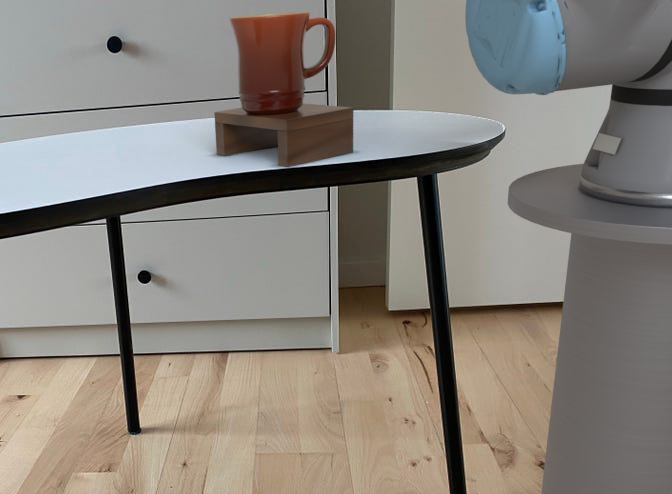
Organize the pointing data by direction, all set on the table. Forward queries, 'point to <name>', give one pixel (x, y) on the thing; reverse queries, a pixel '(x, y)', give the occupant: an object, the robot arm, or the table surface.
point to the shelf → (287, 133)
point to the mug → (276, 60)
